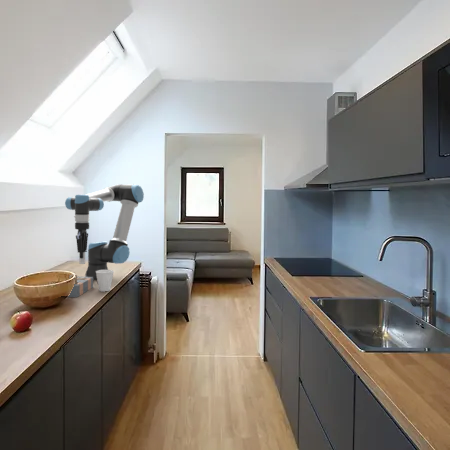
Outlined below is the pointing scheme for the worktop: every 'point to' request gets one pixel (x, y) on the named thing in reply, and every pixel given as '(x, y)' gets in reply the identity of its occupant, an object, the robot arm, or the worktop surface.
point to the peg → (75, 278)
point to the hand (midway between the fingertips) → (82, 263)
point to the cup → (104, 279)
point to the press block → (81, 286)
